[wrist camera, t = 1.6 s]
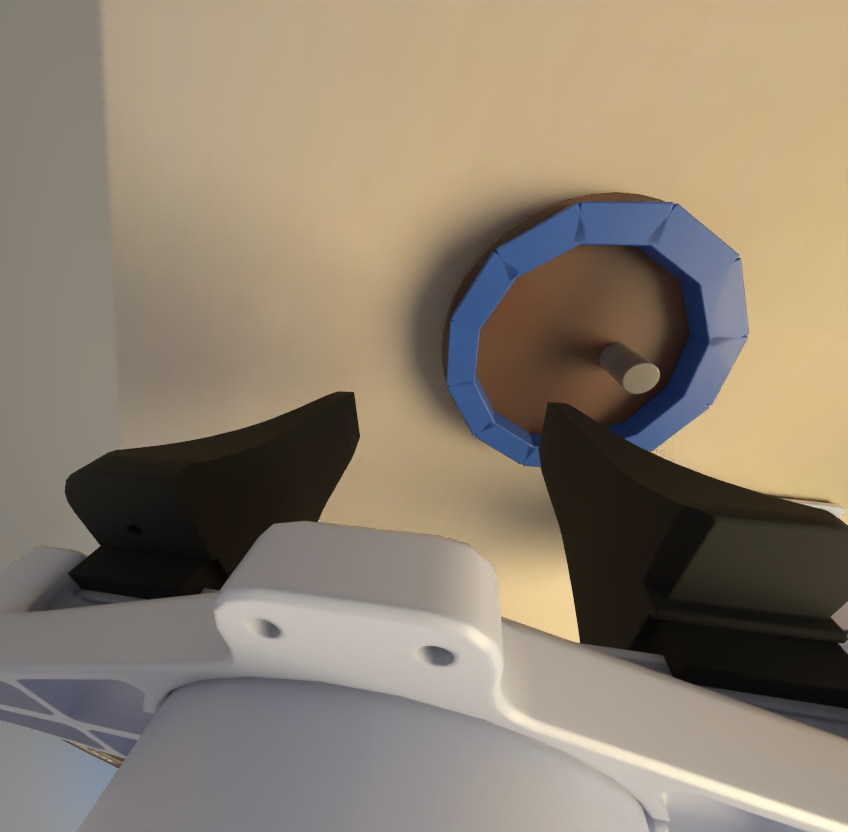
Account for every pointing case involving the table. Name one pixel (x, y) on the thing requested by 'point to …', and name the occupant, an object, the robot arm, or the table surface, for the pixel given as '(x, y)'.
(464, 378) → the ring
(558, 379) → the platform
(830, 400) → the table surface
